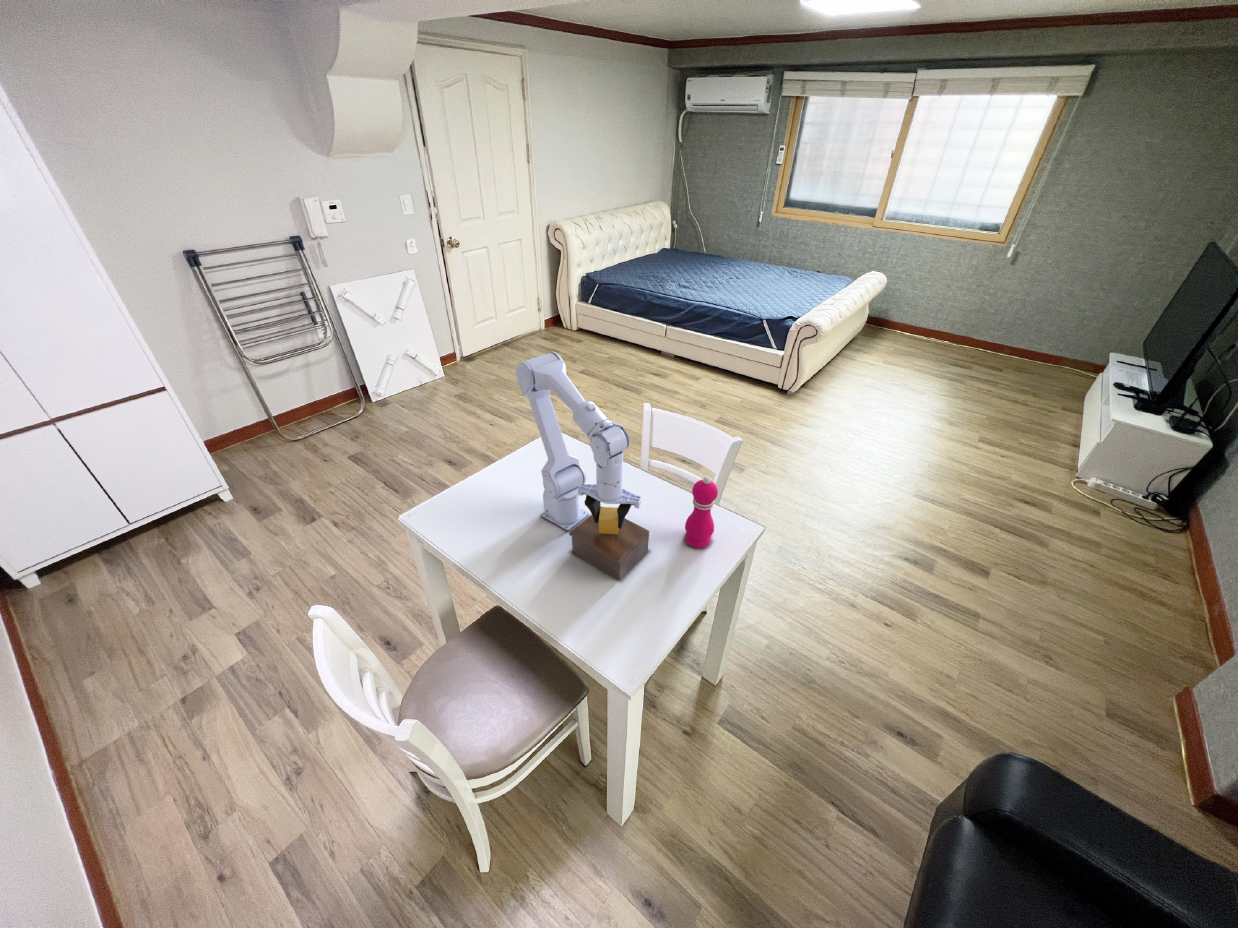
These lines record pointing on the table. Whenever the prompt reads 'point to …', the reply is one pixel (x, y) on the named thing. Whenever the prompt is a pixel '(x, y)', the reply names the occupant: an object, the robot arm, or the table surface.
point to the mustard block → (608, 520)
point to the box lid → (609, 538)
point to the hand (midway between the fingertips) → (609, 522)
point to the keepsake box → (608, 564)
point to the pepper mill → (701, 514)
